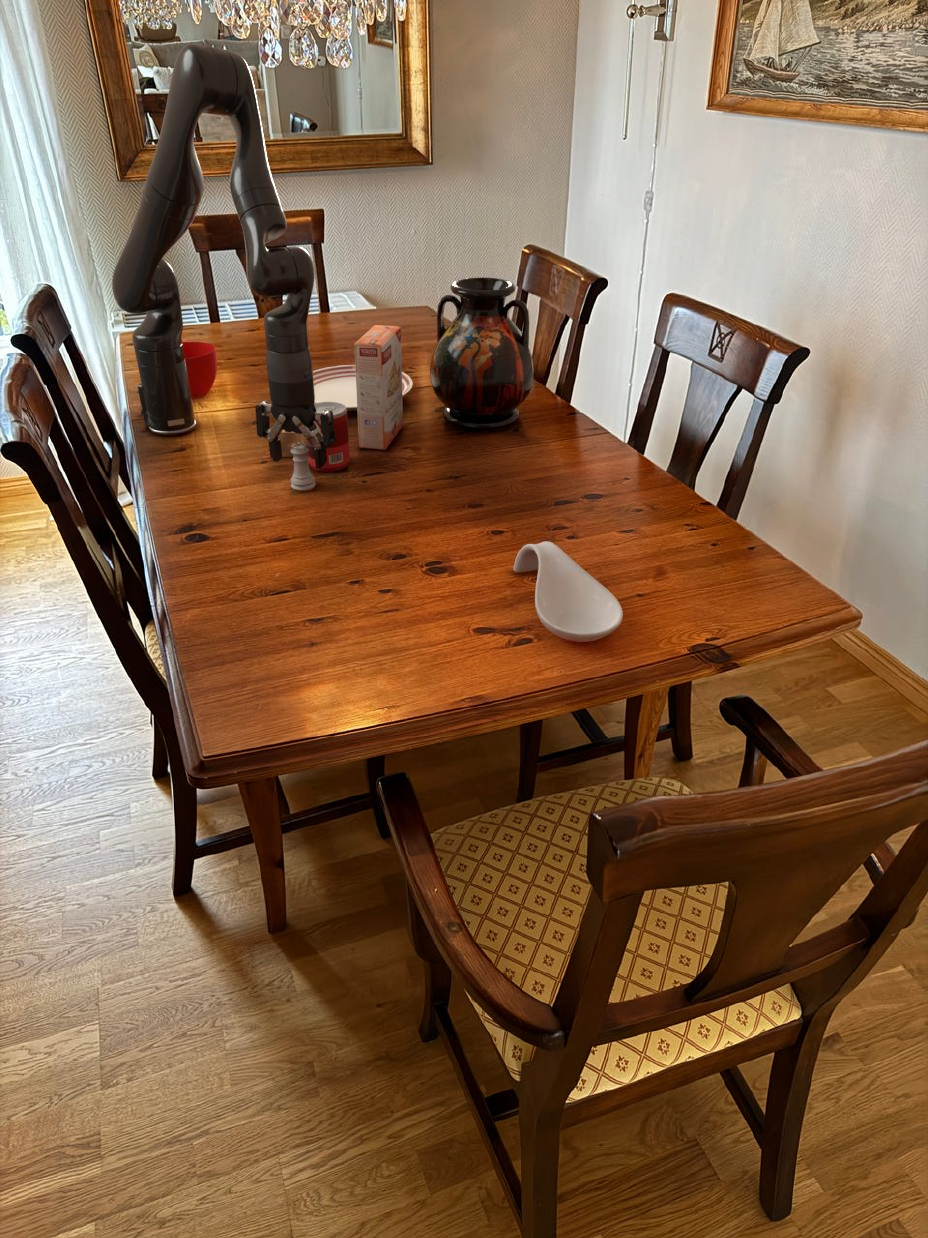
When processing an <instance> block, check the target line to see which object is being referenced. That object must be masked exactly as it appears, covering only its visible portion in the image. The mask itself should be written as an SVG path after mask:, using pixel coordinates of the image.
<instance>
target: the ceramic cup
mask: <svg viewBox="0 0 928 1238" xmlns="http://www.w3.org/2000/svg"><path fill="white" fill-rule="evenodd" d="M182 345H183V351H184V357H185V362H186V368H187V374H188V380H189V386H190V392H191V398H192V399H196V398H197V399H198V398H202V397H204V396H206V395H208V393H209V392H210V390H211V389H212V387H213V385H214V383H215V381H216V378H217V373H218V356H217V355H218V354H217V348H216V346H215V345H214V344H212V343H210V342H206V341H205V342H204V341H182Z"/></svg>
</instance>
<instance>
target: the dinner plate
mask: <svg viewBox="0 0 928 1238" xmlns="http://www.w3.org/2000/svg"><path fill="white" fill-rule="evenodd" d="M313 381H314V393H315V402H314V404H316V403H321V402H336V403H340V404H343V405H345V406H346V410H347V412H357V392H356V371H355V364H345V365H335V366H329V367H324V368H318V369H315V370H313ZM413 386H414V383H413V380H412V378H411V377H410V376H409V375H408V374H406V373H405V372H404V371H402V398H403V397H405V396H406V395H407V394H408V393H409V392H411V390H412V389H413Z"/></svg>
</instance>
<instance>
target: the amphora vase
mask: <svg viewBox="0 0 928 1238" xmlns="http://www.w3.org/2000/svg"><path fill="white" fill-rule="evenodd" d="M516 289H517V287H516V285H515V284H514V282H512V281H509V280H506V279H504V278H496V277H482V276H481V277H468V278H462V279H458V280H456V281H454V282H452V284H451V285H450V290H451V292H452V293H453V294H454V295H452V294H446V295H444V296H442V297H441V298H440V301H439V302H438V305H437V310H436V336H437V337H436V346H435V349H434V351H433V353H432V356H431V360H430V366H429V367H430V368H429V374H430V375H429V376H430V377H429V378H430V383H431V387H432V390H433V393H434V394H435V396H436V397H437V399H438V400H439V402H440V403H442V405H443V406H444V408H443V411H442V417H443V418H442V419H443V420H444V421H445V422H446V423H447V424H448V425H449V426H451V427H453V428H455V429H457V430H462V431H464V432H465V431H466V432H472V433H493V432H498V431H499V432H500V431H503V430H506V429H508V428H511V427H513V426H514V425H515V424H516V423H517V422H519V420H520V417H521V413H520V410H519V408H518V407H519V406H520V405H521V404H522V403H523V402H525V400H526V399H527V397H528V396H529V394H530V392H531V389H532V387H533V383H534V375H535V368H534V358H533V355H532V353H531V350H530V347H529V346H530V311H529V308H528V306H527V304H526V303H525V302H523V301H522V300H521V299H512V300H510V301H509V302H507V303H506V299H507V297H509V296H511V295H513V294H515V292H516ZM455 295H456V296H455ZM457 296H458V297H459V298H458V297H457ZM447 303H452V304H453V306H454V307H455V309H456V317H455V318H454V319H453V320H452V321H451V322H450V323H449V324H448V325H447V327H446V328H445V319H444V313H445V306H446V304H447ZM505 303H506V304H505ZM513 307H515V308H518V309H519V310H520V312H521V317H522V329H521V330H520V329H519V327H518V326H517V324H516V323H515V322H514V321H513V320H512V319H511V317H510V310H511V309H512V308H513Z"/></svg>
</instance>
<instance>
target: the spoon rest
mask: <svg viewBox="0 0 928 1238" xmlns="http://www.w3.org/2000/svg"><path fill="white" fill-rule="evenodd" d="M513 571H514V572H515V573H527V572H531V571H537V577H536V583H535V590H534V592H535V593H534V605H535V611H536V614H537V616H538V619H539V621H540V622H541V624H542V625H543V627H544V628H546V630H548V631H549V632H550V633H552V634H553V635H554V636H556V637H558V638H561V639H562V640H566V641H571V642H576V643H587V642H593V641H597V640H601V639H603V638H605V637H606V636H609V635H610V634H612V633H614V631H616V630H617V629H618V628H619V626H620V625H621V624H622V622H623V618H624V611H623V607H622V605H621V603H620V601H619V600H618V599H617V598H616V597H615V595H613V594H612V592H611V591H610V590H608V588H606V587H605V586H604V585H603V584H602V583H601V582H600V581H598V580H597V579H596V578H595V577H593V576H592V575H591V574H590V573H589V572H587V570H585V568H583V567H582V566H580V565H579V564H578V563H577V562H576V561H574V559H572V558H571V557H570V556H569V555H568V554H567V553H566V552H565V551H563V550H562V549H561V548H560V547H559V546H558V545H557V544H556V543H553V542H552V541H541V542H539V543H527V544H525V545H523V546H522V547H521V549H519V551H518V553H517V555H516V557H515V560H514V563H513Z"/></svg>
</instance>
